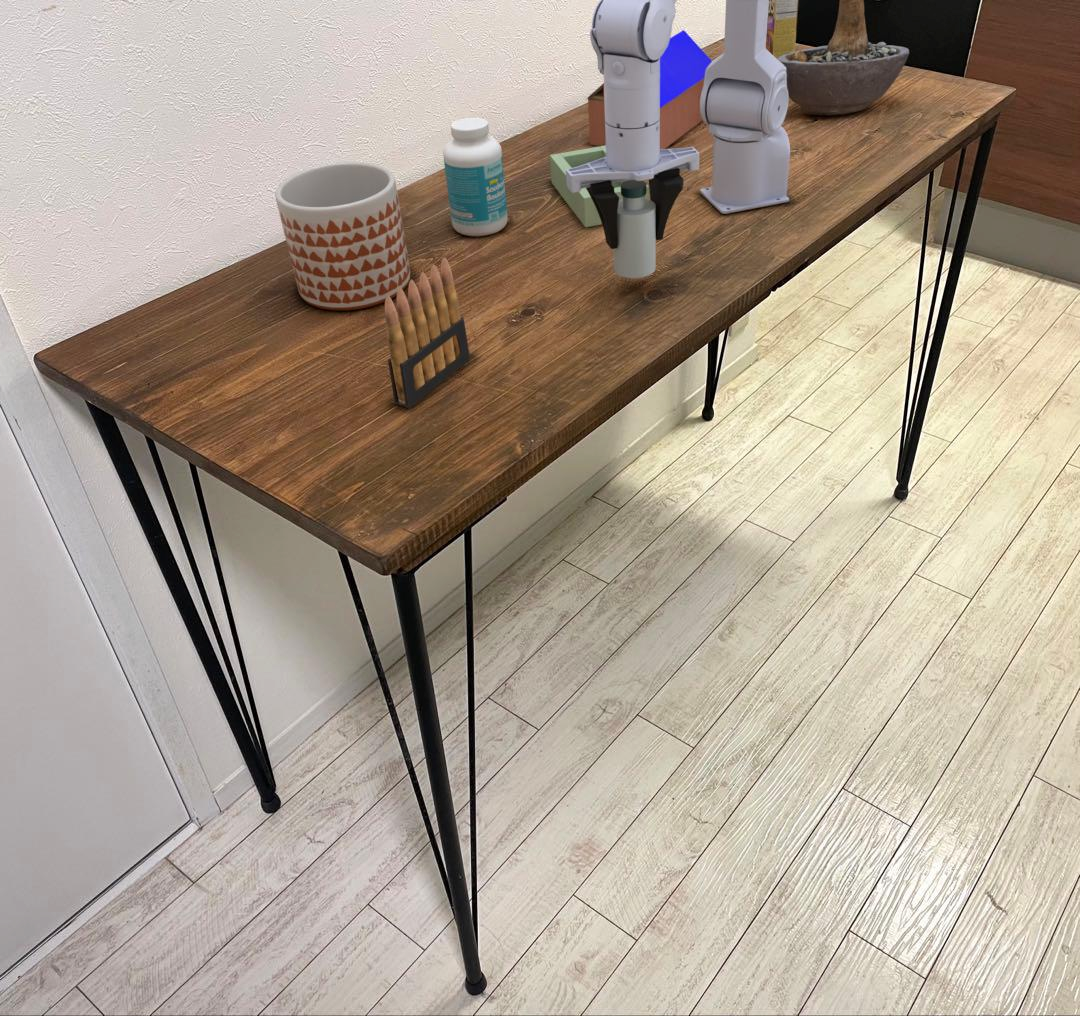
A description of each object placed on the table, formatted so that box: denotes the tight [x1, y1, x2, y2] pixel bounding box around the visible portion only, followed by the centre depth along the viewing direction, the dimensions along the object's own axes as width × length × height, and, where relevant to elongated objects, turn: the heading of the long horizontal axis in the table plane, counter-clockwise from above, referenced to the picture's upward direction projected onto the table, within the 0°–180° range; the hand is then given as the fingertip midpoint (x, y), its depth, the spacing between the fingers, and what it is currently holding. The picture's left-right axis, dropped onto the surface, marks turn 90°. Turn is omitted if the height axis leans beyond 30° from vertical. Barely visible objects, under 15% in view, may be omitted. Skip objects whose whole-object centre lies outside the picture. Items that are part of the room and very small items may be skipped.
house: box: [585, 29, 713, 149], centre depth 154 cm, size 12×20×12 cm, turn 147°
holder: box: [549, 145, 650, 228], centre depth 138 cm, size 9×16×4 cm, turn 15°
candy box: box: [766, 0, 799, 58], centre depth 173 cm, size 9×4×15 cm, turn 5°
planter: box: [777, 0, 910, 116], centre depth 152 cm, size 15×17×20 cm
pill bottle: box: [442, 117, 509, 237], centre depth 130 cm, size 8×7×14 cm
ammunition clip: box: [384, 256, 471, 409], centre depth 102 cm, size 11×2×12 cm, turn 147°
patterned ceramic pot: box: [274, 161, 412, 312], centre depth 120 cm, size 14×14×13 cm
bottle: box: [612, 180, 657, 279], centre depth 114 cm, size 5×5×10 cm
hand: (633, 240), depth 115 cm, fingers closed on bottle, 5 cm apart
